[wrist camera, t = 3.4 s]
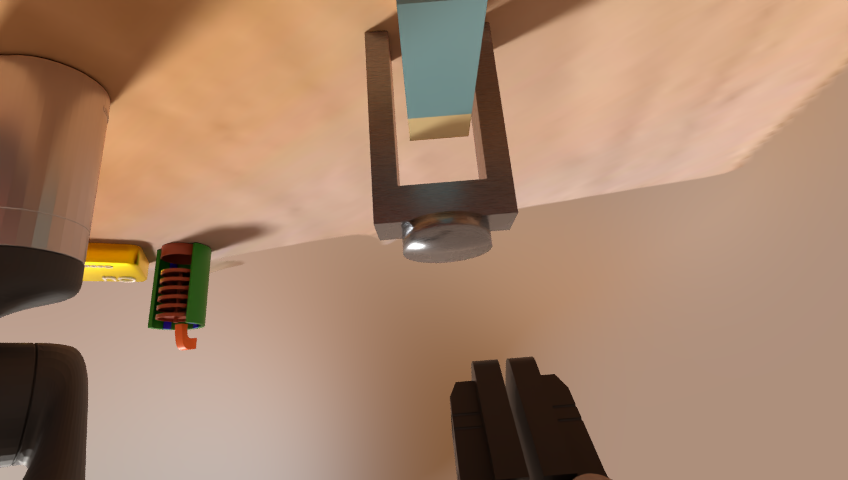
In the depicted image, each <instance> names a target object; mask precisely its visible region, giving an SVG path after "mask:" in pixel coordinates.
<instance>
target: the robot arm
mask: <svg viewBox="0 0 848 480" xmlns="http://www.w3.org/2000/svg"><path fill="white" fill-rule="evenodd" d="M109 109H110V97H109V95H108V93H107V92H106V91H105V89H104V88H103V87H102V86H101V85H100V84H98V83H97V82H96V81H95V80H93V79H92V78H90V77H89V76H87V75H85V74H84V73H82V72H80V71H78V70H76V69H73V68H71V67H69V66H66V65H63V64H61V63H58V62H54V61H51V60H47V59H43V58H38V57H33V56H24V55H0V318H1V317H3V316H6V315H9V314H12V313H14V312H18V311H21V310H25V309H29V308H33V307H39V306H43V305H49V304H53V303H57V302H62V301H65V300H67V299H70V298H72V297H74V296H75V295H76V294H77V293H78V292H79V290H80V288H81V285H82V281H83V275H84V268H85V261H86V255H87V249H88V242H89V236H90V230H91V223H92V217H93V211H94V204H95V198H96V192H97V185H98V179H99V173H100V167H101V160H102V154H103V148H104V141H105V134H106V128H107V123H108V119H109ZM471 366H472V367H471V368H472V381H465V382H456V383H455V386H454V388H453V391H452V393H451V396H450V405H451V420H452V421H451V422H452V437H453V445H454V454H455V463H456V471H457V480H612V479H610V478H608V476H607V474H606V472H605V471H604V468H603V466H602V464H601V461H600V459H599V457H598V455H597V452H596V450H595V448H594V445H593V443H592V441H591V439H590V436H589V434H588V432H587V429H586V427H585V425H584V423H583V421H582V420H581V416H580V414H579V411H578V409H577V407H576V406H575V402H574V400H573V397H572V395H571V393H570V390H569V388H568V387H567V386H566V385H565V384H564V383H563V382H562V381H561V380H560V379H559V378H558V377H557V376H556V375H555V374H551V375H540V372H539V369H538V367H537V364H536V361H535V360H534V358H533V357H523V358H510V359H507V360H506V388H505V384H504V380H503V377H502V373H501V369H500V365H499V362H498V360H485V361H473V362H472V364H471ZM87 412H88V377H87V370H86V365H85V362H84V359H83V357H82V355H81V353H80V352H79V351H78V350H77V349H75V348H74V347H71V346H67V345H61V344H51V343H35V344H33V343H0V468H1V467H8V466H11V465H13V466H14V465H25V466H27V468H28V470H27V472H26V475H25V476H24V478H23V480H85V465H86V437H87Z"/></svg>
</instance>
